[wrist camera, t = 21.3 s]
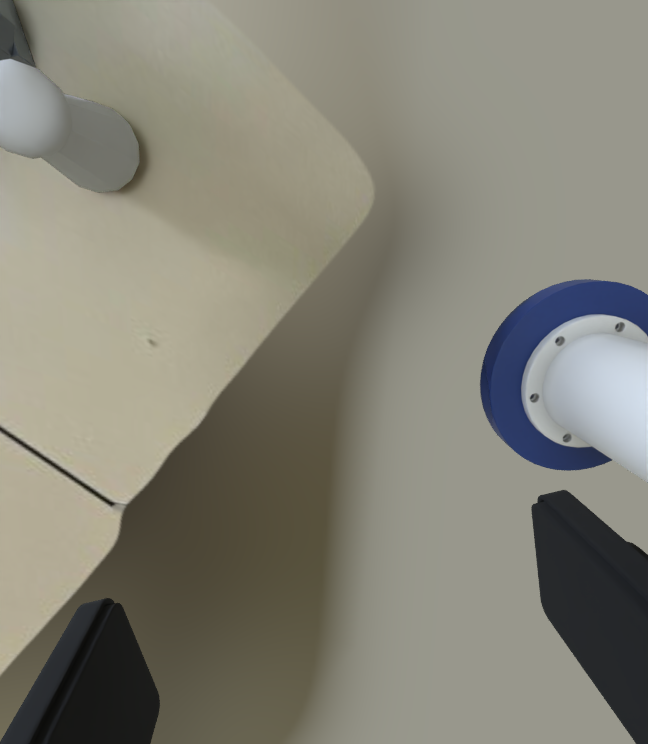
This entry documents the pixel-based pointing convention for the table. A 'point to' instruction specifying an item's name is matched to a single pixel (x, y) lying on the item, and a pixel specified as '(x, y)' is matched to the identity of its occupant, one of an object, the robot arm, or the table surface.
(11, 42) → the plate
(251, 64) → the table surface
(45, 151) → the salt shaker
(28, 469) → the table surface
